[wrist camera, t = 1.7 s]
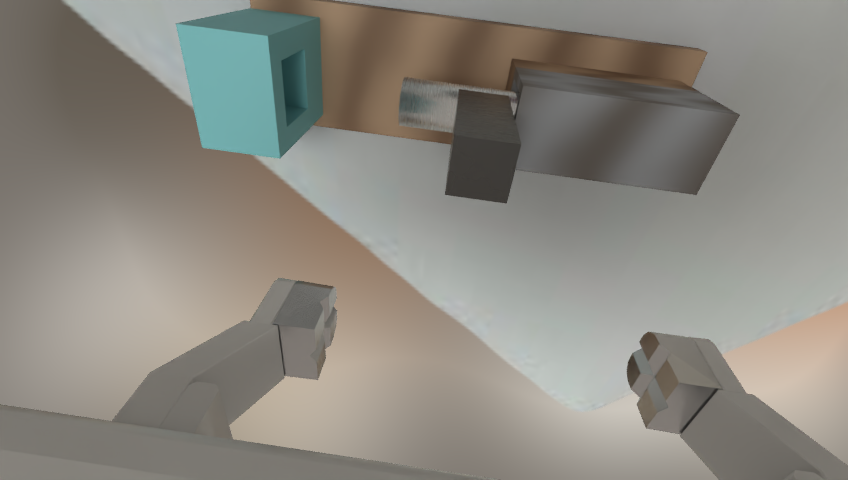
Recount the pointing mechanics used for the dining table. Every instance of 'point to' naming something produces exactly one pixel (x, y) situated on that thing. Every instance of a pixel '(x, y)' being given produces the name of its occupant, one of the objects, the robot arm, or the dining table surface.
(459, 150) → the grey l-shaped piece
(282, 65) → the socket block
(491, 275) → the dining table surface
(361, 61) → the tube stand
